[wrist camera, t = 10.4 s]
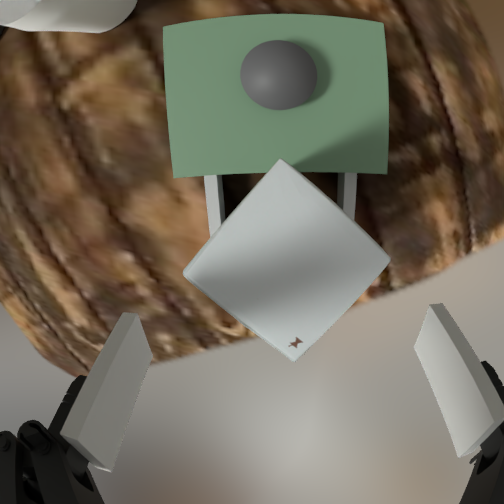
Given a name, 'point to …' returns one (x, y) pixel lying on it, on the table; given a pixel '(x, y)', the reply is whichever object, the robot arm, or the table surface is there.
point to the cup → (65, 14)
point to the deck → (276, 99)
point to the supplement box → (287, 262)
